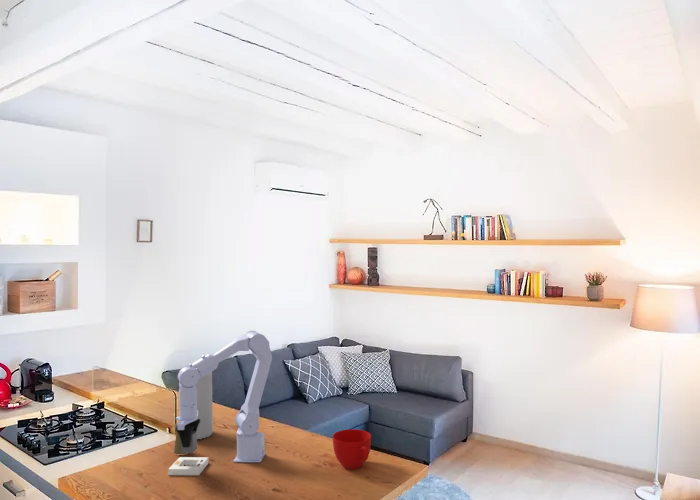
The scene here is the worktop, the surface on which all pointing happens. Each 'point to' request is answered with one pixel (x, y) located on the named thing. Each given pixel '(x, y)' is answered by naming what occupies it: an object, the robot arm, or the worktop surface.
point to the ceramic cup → (352, 447)
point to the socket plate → (188, 466)
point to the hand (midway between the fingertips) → (188, 444)
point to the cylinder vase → (204, 406)
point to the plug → (191, 444)
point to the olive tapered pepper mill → (177, 443)
